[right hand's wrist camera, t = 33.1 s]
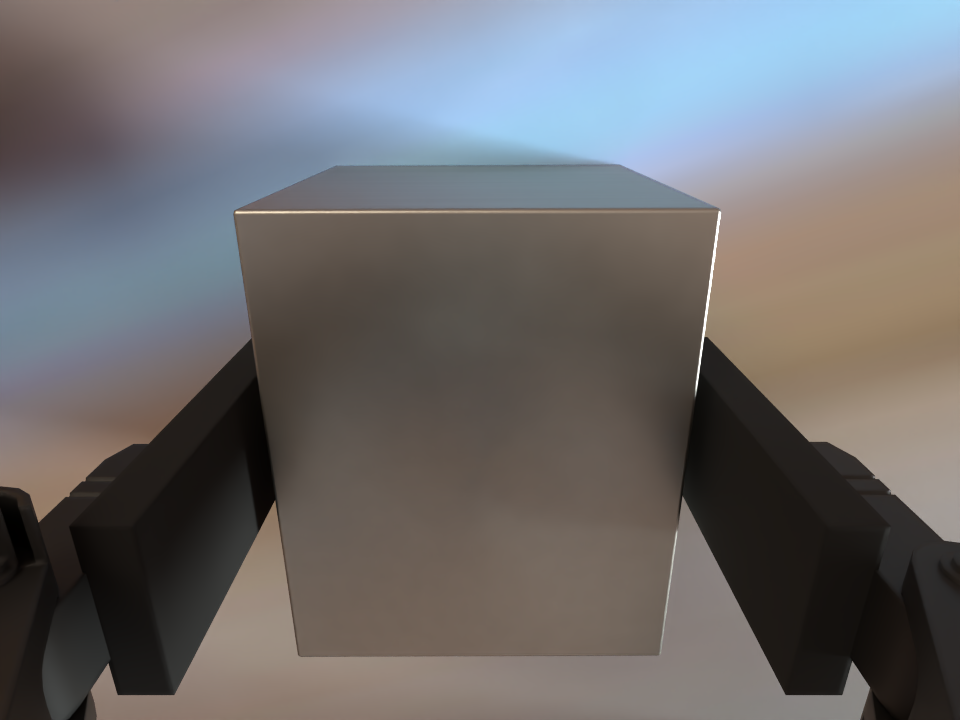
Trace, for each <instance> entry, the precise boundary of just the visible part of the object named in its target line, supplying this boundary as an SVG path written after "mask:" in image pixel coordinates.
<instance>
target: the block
mask: <svg viewBox="0 0 960 720" xmlns="http://www.w3.org/2000/svg"><path fill="white" fill-rule="evenodd" d="M720 216H721V211H720V209H719V208H717V207H715V206H712V205H710V204H708V203H706V202H703V201H701V200H699V199H697V198H694V197H692V196H690V195H687V194H685V193H683V192H681V191H678V190H676V189H674V188H672V187H669V186H667V185H665V184H663V183H660V182H658V181H656V180H653V179H651V178H649V177H647V176H644V175H642V174H640V173H638V172H635V171H633V170H631V169H629V168H626V167H624V166H622V165H412V166H335V167H332V168H330V169H328V170H325V171H323V172H321V173H319V174H316V175H314V176H312V177H310V178H307V179H305V180H303V181H300V182H298V183H296V184H294V185H291V186H289V187H287V188H285V189H282V190H280V191H278V192H276V193H273V194H271V195H269V196H266V197H264V198H262V199H260V200H257V201H255V202H253V203H251V204H248V205H246V206H244V207H241V208H239V209H237V210H235V211H234V221H235V228H236V235H237V242H238V248H239V255H240V262H241V269H242V276H243V283H244V289H245V296H246V303H247V310H248V317H249V323H250V330H251V337H252V344H253V351H254V358H255V364H256V371H257V378H258V385H259V392H260V399H261V405H262V412H263V419H264V426H265V433H266V439H267V446H268V453H269V460H270V467H271V474H272V480H273V487H274V494H275V501H276V508H277V515H278V521H279V528H280V535H281V542H282V549H283V555H284V562H285V569H286V576H287V583H288V590H289V596H290V603H291V610H292V617H293V624H294V631H295V637H296V644H297V651H298V655H299V656H301V657H346V656H651V655H660V654H661V648H662V641H663V634H664V626H665V619H666V612H667V604H668V597H669V590H670V582H671V575H672V568H673V560H674V553H675V546H676V538H677V531H678V524H679V516H680V509H681V502H682V494H683V487H684V480H685V472H686V465H687V458H688V450H689V443H690V436H691V428H692V421H693V414H694V406H695V399H696V392H697V384H698V377H699V370H700V362H701V355H702V348H703V340H704V333H705V326H706V318H707V311H708V304H709V296H710V289H711V282H712V274H713V267H714V260H715V252H716V245H717V238H718V230H719V223H720Z"/></svg>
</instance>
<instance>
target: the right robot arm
mask: <svg viewBox="0 0 960 720" xmlns="http://www.w3.org/2000/svg"><path fill="white" fill-rule="evenodd" d="M682 495H683V497H684V499H685V501H686V503H687V505H688V507H689V509H690V511H691V513H692V515H693V516H694V518H695V520H696V522H697V524H698V526H699V528H700V530H701V532H702V534H703V536H704V538H705V540H706V542H707V544H708V545H709V547H710V549H711V551H712V553H713V555H714V557H715V559H716V561H717V563H718V565H719V567H720V569H721V571H722V573H723V575H724V576H725V578H726V580H727V582H728V584H729V586H730V588H731V590H732V592H733V594H734V596H735V598H736V600H737V602H738V604H739V605H740V607H741V609H742V611H743V613H744V615H745V617H746V619H747V621H748V623H749V625H750V627H751V629H752V631H753V633H754V634H755V636H756V638H757V640H758V642H759V644H760V646H761V648H762V650H763V652H764V654H765V656H766V658H767V660H768V662H769V663H770V665H771V667H772V669H773V671H774V673H775V675H776V677H777V679H778V681H779V683H780V685H781V687H782V689H783V691H784V692H785V694H786V695H842V694H843V691H844V687H845V684H846V680H847V677H848V673H849V670H850V667H851V663H852V661H853V662H854V664H855V665H856V667H857V668H858V670H859V671H860V673H861V674H862V676H863V677H864V679H865V680H866V682H867V683H868V685H869V686H870V690H869V694H868V697H867V700H866V703H865V706H864V710H863V713H862V716H861V719H860V720H960V543H957V542H949V541H944V540H943V539H941V538H940V537H939V536H938V535H937V534H936V533H935V532H934V531H933V530H932V529H931V528H930V527H929V526H928V525H927V524H926V523H924V522H923V521H922V520H921V519H920V518H919V517H918V516H917V515H916V514H915V513H914V512H913V511H912V510H911V509H910V508H909V507H908V506H906V505H905V504H904V503H903V502H902V501H901V500H900V499H899V498H898V497H897V496H896V495H891V490H889V489H888V488H887V487H886V486H885V485H884V484H883V483H882V482H881V481H880V480H879V479H875V475H874V474H873V473H871V472H870V471H869V470H868V469H867V468H866V467H865V466H864V465H863V464H862V463H861V462H860V461H859V460H858V459H857V458H856V457H854V456H852V455H850V454H848V453H846V452H845V451H843V450H841V449H839V448H837V447H835V446H833V445H832V444H830V443H828V442H809V441H808V440H807V439H806V438H805V437H804V436H803V435H802V434H801V433H800V432H799V431H798V430H797V429H796V428H795V427H794V426H793V425H792V424H791V423H790V422H789V421H788V420H787V419H786V418H785V417H784V416H783V415H782V413H781V412H780V411H779V410H778V409H777V408H776V407H775V406H774V405H773V404H772V403H771V402H770V401H769V400H768V399H767V398H766V397H765V396H764V395H763V394H762V393H761V392H760V391H759V390H758V389H757V388H756V387H755V386H754V385H753V384H752V383H751V382H750V381H749V380H748V379H747V378H746V376H745V375H744V374H743V373H742V372H741V371H740V370H739V369H738V368H737V367H736V366H735V365H734V364H733V363H732V362H731V361H730V360H729V359H728V358H727V357H726V356H725V355H724V354H723V353H722V352H721V351H720V350H719V349H718V348H717V347H716V346H715V345H714V344H713V343H712V342H711V340H710V339H709V338H708V337H704V340H703V348H702V355H701V362H700V370H699V377H698V384H697V392H696V399H695V406H694V414H693V421H692V428H691V436H690V443H689V450H688V458H687V465H686V472H685V480H684V487H683V494H682ZM274 501H275V494H274V487H273V480H272V474H271V467H270V460H269V453H268V446H267V439H266V433H265V426H264V419H263V412H262V405H261V399H260V392H259V385H258V378H257V371H256V364H255V358H254V351H253V344H252V338H251V339H250V341H249V342H248V343H247V344H246V345H245V346H244V347H243V348H242V349H241V350H240V351H239V352H238V353H237V354H236V355H235V356H234V357H233V358H232V359H231V360H230V361H229V362H228V363H227V364H226V365H225V366H224V367H223V368H222V369H221V370H220V371H219V372H218V373H217V374H216V375H215V376H214V378H213V379H212V380H211V381H210V382H209V383H208V384H207V385H206V386H205V387H204V388H203V389H202V390H201V391H200V392H199V393H198V394H197V395H196V396H195V397H194V398H193V399H192V400H191V401H190V402H189V403H188V404H187V405H186V406H185V407H184V408H183V409H182V410H181V411H180V412H179V414H178V415H177V416H176V417H175V418H174V419H173V420H172V421H171V422H170V423H169V424H168V425H167V426H166V427H165V428H164V429H163V430H162V431H161V432H160V433H159V434H158V435H157V436H156V437H155V438H154V439H153V440H152V441H151V442H150V443H149V444H133V445H131V446H129V447H127V448H125V449H124V450H122V451H120V452H118V453H116V454H114V455H113V456H111V457H109V458H107V459H105V460H104V461H103V462H102V463H101V464H100V465H99V466H98V467H97V468H96V469H95V470H94V471H93V472H92V473H91V474H89V475H88V476H87V477H86V481H85V482H81V483H80V484H79V485H78V486H77V487H76V488H75V489H74V490H73V491H72V492H70V497H65V498H64V499H63V500H62V501H61V502H60V503H59V504H58V505H57V506H56V507H55V508H54V509H53V510H52V511H50V512H49V513H48V514H47V515H46V516H45V517H44V518H43V519H42V520H41V521H40V522H39V523H38V520H37V517H36V514H35V510H34V507H33V504H32V501H31V498H30V495H29V494H28V493H26V492H24V491H23V490H21V489H19V488H11V487H0V720H96V717H97V715H96V709H95V704H94V700H93V697H92V694H91V688H92V687H93V685H94V684H95V682H96V681H97V679H98V678H99V676H100V675H101V673H102V672H103V670H104V669H105V667H106V666H107V664H108V663H109V666H110V670H111V673H112V677H113V680H114V684H115V687H116V691H117V694H118V695H174V694H175V693H176V691H177V689H178V687H179V685H180V683H181V681H182V679H183V677H184V675H185V673H186V671H187V669H188V667H189V665H190V664H191V662H192V660H193V658H194V656H195V654H196V652H197V650H198V648H199V646H200V644H201V642H202V640H203V638H204V636H205V635H206V633H207V631H208V629H209V627H210V625H211V623H212V621H213V619H214V617H215V615H216V613H217V611H218V609H219V607H220V605H221V604H222V602H223V600H224V598H225V596H226V594H227V592H228V590H229V588H230V586H231V584H232V582H233V580H234V578H235V576H236V575H237V573H238V571H239V569H240V567H241V565H242V563H243V561H244V559H245V557H246V555H247V553H248V551H249V549H250V547H251V546H252V544H253V542H254V540H255V538H256V536H257V534H258V532H259V530H260V528H261V526H262V524H263V522H264V520H265V518H266V517H267V515H268V513H269V511H270V509H271V507H272V505H273V503H274Z"/></svg>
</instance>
